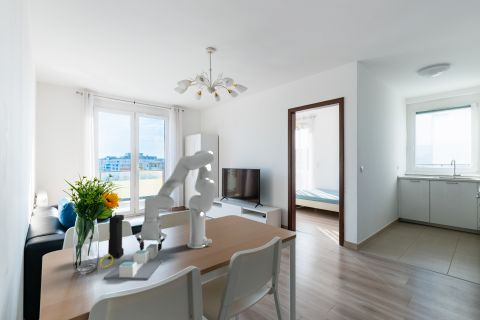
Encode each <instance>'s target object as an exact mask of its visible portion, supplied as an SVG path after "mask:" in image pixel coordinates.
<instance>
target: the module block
mask: <svg viewBox="0 0 480 320" xmlns="http://www.w3.org/2000/svg"><path fill="white" fill-rule="evenodd" d="M145 250H147V251H149V260H155V257H157V255H158V244H157V243H154V244H153V243H149V245H148V246H146V248H145Z"/></svg>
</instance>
